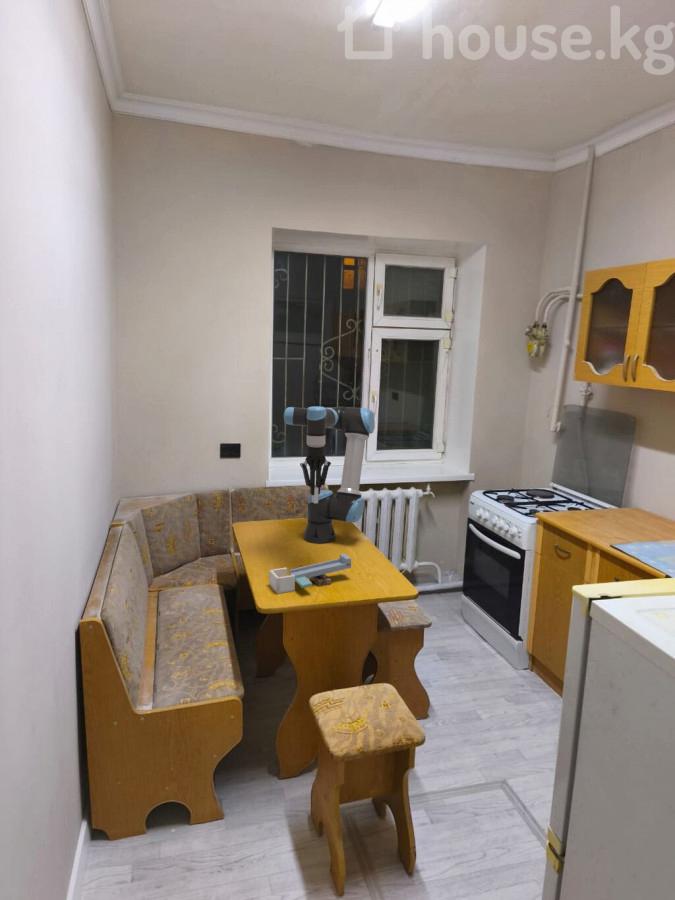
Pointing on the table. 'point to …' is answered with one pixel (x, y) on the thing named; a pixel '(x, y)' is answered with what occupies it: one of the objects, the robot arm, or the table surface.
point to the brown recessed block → (321, 580)
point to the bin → (281, 581)
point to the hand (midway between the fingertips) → (315, 502)
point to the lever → (319, 569)
